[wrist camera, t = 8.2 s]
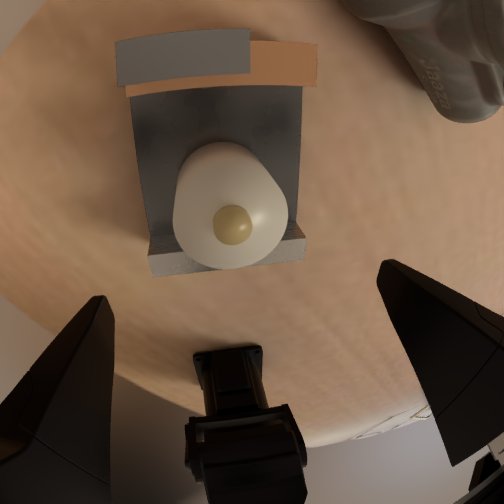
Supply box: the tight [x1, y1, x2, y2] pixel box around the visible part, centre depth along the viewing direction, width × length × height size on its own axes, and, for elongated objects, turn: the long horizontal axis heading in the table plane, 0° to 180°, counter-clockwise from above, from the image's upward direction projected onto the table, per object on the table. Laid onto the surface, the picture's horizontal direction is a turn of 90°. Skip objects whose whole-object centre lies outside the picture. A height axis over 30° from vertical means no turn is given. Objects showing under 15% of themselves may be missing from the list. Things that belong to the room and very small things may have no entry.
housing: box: [173, 142, 288, 269], centre depth 14 cm, size 5×5×5 cm
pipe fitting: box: [339, 0, 504, 123], centre depth 10 cm, size 12×8×10 cm, turn 49°
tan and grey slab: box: [115, 29, 317, 97], centre depth 10 cm, size 2×8×6 cm, turn 91°
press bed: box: [130, 85, 307, 277], centre depth 15 cm, size 12×9×4 cm
